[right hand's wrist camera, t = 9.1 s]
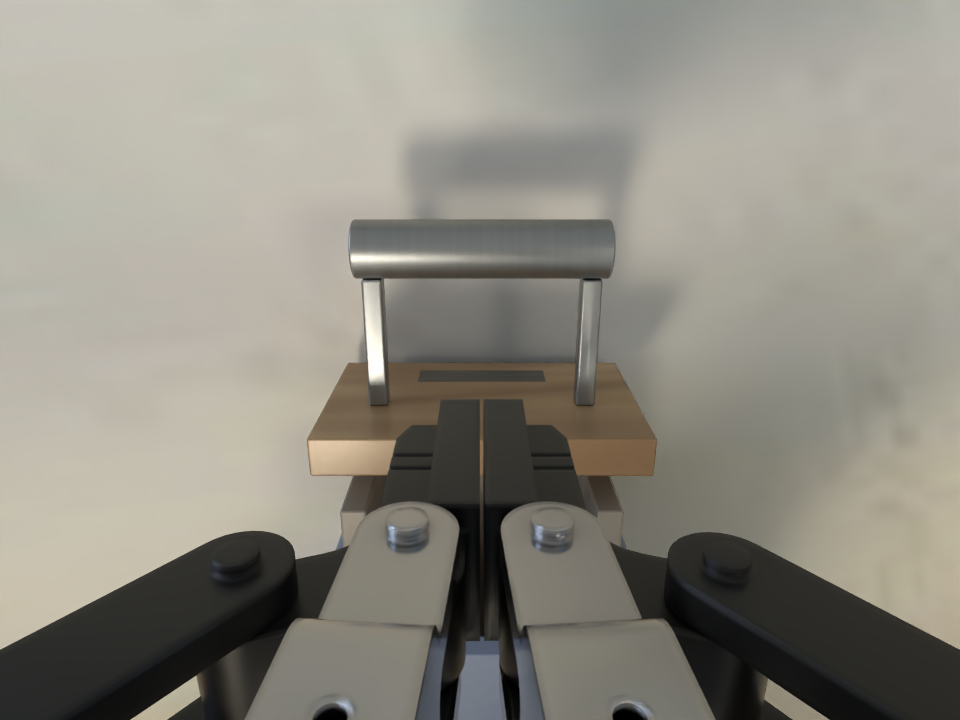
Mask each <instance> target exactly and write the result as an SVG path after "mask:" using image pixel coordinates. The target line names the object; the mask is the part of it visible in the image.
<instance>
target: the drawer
mask: <svg viewBox="0 0 960 720" xmlns="http://www.w3.org/2000/svg"><path fill="white" fill-rule="evenodd" d="M614 260H615V230H614V226H613V223H612V221H611V220H353V221H352V222H351V225H350V230H349V261H350V267H351V271H352V274H353V276H354V278H363V280H362V282H361V284H362V300H363V316H364V331H365V347H366V363H348V364H347V366H346V368H345V370H344V372H343V374H342V376H341V377H340V379H339V381H338V383H337V385H336V387H335V389H334V390H333V392H332V394H331V396H330V398H329V400H328V402H327V403H326V405H325V407H324V409H323V411H322V413H321V414H320V416H319V418H318V420H317V422H316V424H315V426H314V427H313V429H312V431H311V433H310V435H309V437H308V439H307V445H308V455H309V465H310V474H311V475H312V476H353V478H352V481H351V483H350V486H349V489H348V492H347V495H346V497H345V500H344V503H343V506H342V509H341V511H340V516H341V527H342V539H343V548H344V547H346V546H348V545H350V542H351V540H352V538H353V535H354V533H355V531H356V528H357V526H358V525H359V523H360V522H361V520H362V519H363V518H364V517H365V516H367V515H368V514H369V513H371V512H373V511H374V510H376V509H378V508H379V505H380V501H381V497H382V493H383V489H384V486H385V482H386V478H387V474H388V470H389V466H390V462H391V458H392V457H393V451H394V447H395V443H396V439H397V438H398V437H399V436H400V435H401V434H402V433H403V432H404V431H406V430H407V429H408V428H409V427H410V426H411V425H437V423H438V416H439V408H440V401H441V399H480V637H484V530H483V399H523V405H524V411H525V418H526V425H552V426H554V427H555V428H556V429H557V430H558V431H559V432H560V433H562V434H563V435H564V436H565V437H566V438H567V441H568V444H569V448H570V452H571V457H572V459H573V463H574V469H575V470H576V474H577V478H578V481H579V485H580V489H581V492H582V496H583V500H584V504H585V507H586V511H587V512H589V513H591V514H592V515H593V516H595V517H596V518H597V519H598V520H599V522H600V523H601V525H602V526H603V528H604V531H605V533H606V535H607V538H608V540H609V541H610V542H611V543H613V544H615V545H617V546H620V545H621V534H622V522H623V510H622V507H621V505H620V502H619V499H618V496H617V494H616V491H615V488H614V485H613V482H612V480H611V477H610V476H652V475H653V473H654V464H655V454H656V444H657V439H656V437H655V435H654V433H653V432H652V430H651V428H650V426H649V424H648V422H647V421H646V419H645V417H644V415H643V413H642V411H641V410H640V408H639V406H638V404H637V402H636V401H635V399H634V397H633V395H632V393H631V391H630V390H629V388H628V386H627V384H626V382H625V380H624V379H623V377H622V375H621V373H620V371H619V369H618V368H617V366H616V364H615V363H597V358H598V343H599V327H600V312H601V297H602V280H601V279H607V278H609V277H610V276H611V274H612V271H613V267H614ZM384 278H419V279H580V286H579V305H578V324H577V343H576V361H575V363H388V350H387V330H386V311H385V291H384Z"/></svg>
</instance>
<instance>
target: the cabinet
mask: <svg viewBox="0 0 960 720" xmlns="http://www.w3.org/2000/svg"><path fill="white" fill-rule="evenodd" d="M620 547H622V548H624V549H627V548H626V546H625V543H624V540H623V537H622V534H621V545H620ZM341 548H343V539H342V534H341V537H340V540H339V543H338V546H337V549H336V550H338V549H341ZM457 720H503V719H502V711H501V703H500V695H499V641H484V637H480V641H466V658H465V664H464V667H463V670H462V672H461V695H460V703H459V711H458V719H457Z"/></svg>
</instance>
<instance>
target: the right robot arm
mask: <svg viewBox="0 0 960 720" xmlns="http://www.w3.org/2000/svg"><path fill="white" fill-rule="evenodd" d="M483 530H484V641H499V695H500V703H501V711H502V719H503V720H792V719H791V718H789V717H788V716H787V715H785V714H784V713H782V712H781V711H779V710H778V709H777V708H775V707H774V706H772V705H771V704H769V703H768V702H767V701H765V700H764V696H765V691H766V686H767V681H768V679H770V680H771V681H773V682H774V683H776V684H777V685H779V686H780V687H782V688H783V689H785V690H786V691H788V692H789V693H791V694H792V695H794V696H795V697H797V698H798V699H800V700H801V701H803V702H804V703H806V704H807V705H809V706H810V707H812V708H813V709H815V710H816V711H818V712H819V713H821V714H822V715H824V716H825V717H827V718H828V719H830V720H960V650H959V649H957V648H955V647H953V646H951V645H949V644H947V643H946V642H944V641H942V640H940V639H938V638H936V637H934V636H932V635H930V634H928V633H926V632H924V631H922V630H920V629H919V628H917V627H915V626H913V625H911V624H909V623H907V622H905V621H903V620H901V619H899V618H897V617H895V616H893V615H892V614H890V613H888V612H886V611H884V610H882V609H880V608H878V607H876V606H874V605H872V604H870V603H868V602H866V601H865V600H863V599H861V598H859V597H857V596H855V595H853V594H851V593H849V592H847V591H845V590H843V589H841V588H839V587H838V586H836V585H834V584H832V583H830V582H828V581H826V580H824V579H822V578H820V577H818V576H816V575H814V574H812V573H810V572H809V571H807V570H805V569H803V568H801V567H799V566H797V565H795V564H793V563H791V562H789V561H787V560H785V559H783V558H782V557H780V556H778V555H776V554H774V553H772V552H770V551H768V550H766V549H764V548H762V547H760V546H758V545H756V544H754V543H752V542H750V541H748V540H745V539H742V538H739V537H736V536H732V535H728V534H722V533H712V532H703V533H694V534H690V535H686V536H684V537H682V538H680V539H678V540H677V541H675V542H674V543H673V544H672V546H671V547H670V549H669V552H668V559H666V558H661V557H656V556H651V555H646V554H642V553H638V552H634V551H630V550H627V549H624V548H622V547H620V546H617V545H615V544H613V543H611V542H610V541H609V540H608V538H607V535H606V533H605V531H604V528H603V526H602V525H601V523H600V522H599V520H598V519H597V518H596V517H595V516H593V515H592V514H591V513H589V512H587V511H586V507H585V504H584V500H583V496H582V492H581V489H580V485H579V481H578V478H577V474H576V470H575V469H574V463H573V459H572V457H571V452H570V448H569V444H568V441H567V438H566V437H565V436H564V435H563V434H562V433H560V432H559V431H558V430H557V429H556V428H555V427H554V426H552V425H526V418H525V411H524V405H523V399H483ZM466 641H480V399H441V401H440V408H439V416H438V423H437V425H411V426H410V427H409V428H408V429H407V430H406V431H404V432H403V433H402V434H401V435H400V436H399V437H398V438H397V439H396V443H395V447H394V451H393V457H392V458H391V462H390V466H389V470H388V474H387V478H386V482H385V486H384V489H383V493H382V497H381V501H380V505H379V508H378V509H376V510H374V511H373V512H371V513H369V514H368V515H367V516H365V517H364V518H363V519H362V520H361V522H360V523H359V525H358V526H357V528H356V531H355V533H354V535H353V538H352V540H351V542H350V545H348V546H346V547H344V548H341V549H338V550H335V551H332V552H328V553H324V554H320V555H315V556H310V557H305V558H300V559H296V560H295V553H294V549H293V546H292V545H291V544H290V542H289V541H288V540H286V539H285V538H284V537H281V536H279V535H277V534H274V533H270V532H264V531H245V532H238V533H233V534H229V535H225V536H222V537H219V538H217V539H214V540H212V541H210V542H208V543H205V544H204V545H202V546H200V547H198V548H196V549H194V550H192V551H190V552H188V553H186V554H184V555H182V556H180V557H178V558H177V559H175V560H173V561H171V562H169V563H167V564H165V565H163V566H161V567H159V568H157V569H155V570H153V571H151V572H150V573H148V574H146V575H144V576H142V577H140V578H138V579H136V580H134V581H132V582H130V583H128V584H126V585H124V586H123V587H121V588H119V589H117V590H115V591H113V592H111V593H109V594H107V595H105V596H103V597H101V598H99V599H97V600H96V601H94V602H92V603H90V604H88V605H86V606H84V607H82V608H80V609H78V610H76V611H74V612H72V613H70V614H69V615H67V616H65V617H63V618H61V619H59V620H57V621H55V622H53V623H51V624H49V625H47V626H45V627H43V628H41V629H40V630H38V631H36V632H34V633H32V634H30V635H28V636H26V637H24V638H22V639H20V640H18V641H16V642H14V643H13V644H11V645H9V646H7V647H5V648H3V649H1V650H0V720H130V719H132V718H133V717H135V716H136V715H138V714H139V713H141V712H142V711H144V710H145V709H147V708H148V707H150V706H151V705H153V704H154V703H156V702H157V701H159V700H160V699H162V698H163V697H165V696H166V695H168V694H169V693H171V692H172V691H174V690H175V689H177V688H178V687H180V686H181V685H183V684H184V683H186V682H187V681H189V680H190V679H192V678H193V677H195V676H196V675H197V680H198V685H199V690H200V695H201V697H199V698H198V699H196V700H195V701H193V702H192V703H191V704H189V705H188V706H186V707H185V708H183V709H182V710H181V711H179V712H178V713H176V714H175V715H173V716H172V717H171V718H169V719H168V720H457V719H458V711H459V703H460V695H461V672H462V670H463V667H464V664H465V658H466Z"/></svg>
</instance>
